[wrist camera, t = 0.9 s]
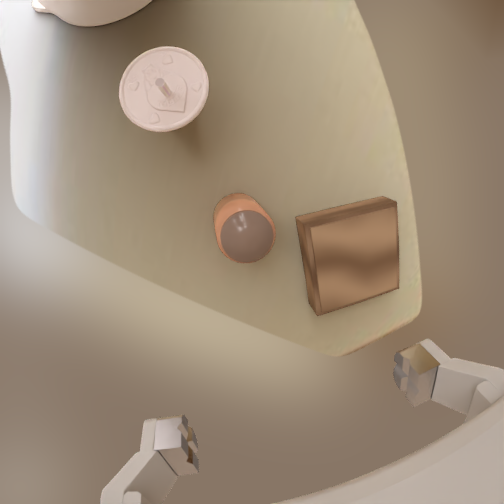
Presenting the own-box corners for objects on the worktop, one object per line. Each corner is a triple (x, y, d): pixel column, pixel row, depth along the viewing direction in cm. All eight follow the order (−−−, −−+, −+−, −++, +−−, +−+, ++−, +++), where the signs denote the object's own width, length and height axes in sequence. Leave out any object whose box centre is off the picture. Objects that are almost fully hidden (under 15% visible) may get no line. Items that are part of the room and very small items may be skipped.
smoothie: (167, 147, 29) (143, 154, 16) (129, 100, 27) (79, 75, 14) (219, 106, 28) (235, 82, 16) (180, 59, 26) (168, 5, 13)
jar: (208, 199, 32) (210, 216, 25) (256, 188, 32) (270, 201, 26) (219, 245, 34) (225, 272, 27) (265, 233, 34) (281, 257, 27)
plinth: (295, 216, 34) (305, 225, 31) (382, 196, 34) (398, 202, 31) (309, 303, 38) (318, 317, 35) (387, 278, 39) (400, 289, 36)
